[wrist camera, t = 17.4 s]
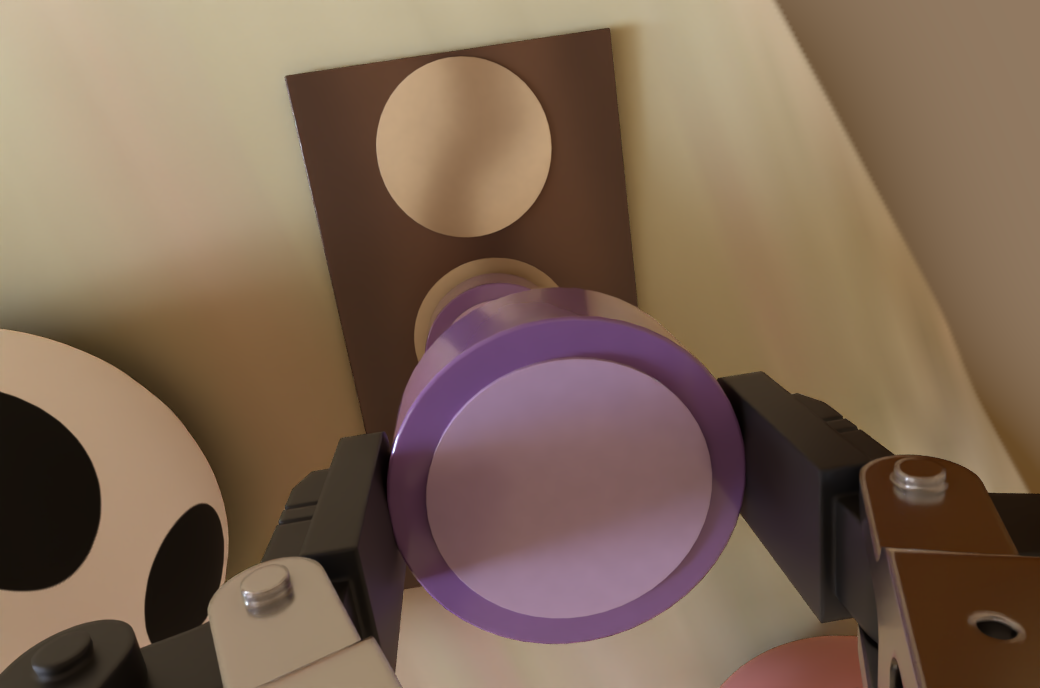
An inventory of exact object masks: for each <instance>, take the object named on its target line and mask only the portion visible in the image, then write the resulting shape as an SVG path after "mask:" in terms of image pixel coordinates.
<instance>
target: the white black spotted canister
mask: <svg viewBox="0 0 1040 688" xmlns="http://www.w3.org/2000/svg"><path fill="white" fill-rule="evenodd" d="M228 543H229V536H228V524H227V517H226V512H225V506H224V502H223V499H222V495H221V492H220V489H219V486H218V484H217V481H216V478H215V476H214V473H213V471H212V469H211V467H210V465H209V463H208V461H207V459H206V457H205V456H204V454H203V452H202V451H201V449H200V448H199V446H198V444H197V443H196V441H195V440H194V439H193V437H192V436H191V435H190V433H189V432H188V430H187V429H186V427H185V426H184V425H183V423H182V422H181V421H180V420H179V418H178V417H177V416H176V415H175V413H174V412H173V411H172V410H171V409H170V408H169V407H168V406H167V405H166V404H164V403H163V402H162V401H161V400H160V399H159V398H158V397H156V396H155V395H154V394H152V393H151V392H150V391H148V390H147V389H146V388H144V387H143V386H142V385H141V384H139V383H138V382H137V381H135V380H134V379H133V378H131V377H130V376H129V375H127V374H126V373H124V372H123V371H121V370H120V369H118V368H117V367H115V366H114V365H112V364H110V363H108V362H106V361H104V360H101V359H99V358H97V357H95V356H93V355H90V354H88V353H86V352H83V351H81V350H79V349H76V348H74V347H71V346H69V345H66V344H63V343H60V342H57V341H54V340H51V339H48V338H44V337H40V336H36V335H32V334H28V333H24V332H18V331H12V330H6V329H0V674H1V673H2V672H3V671H4V670H5V669H6V668H7V667H8V666H9V665H10V664H11V663H12V662H13V661H14V660H16V659H17V658H18V657H19V656H20V655H22V654H23V653H24V652H26V651H27V650H28V649H30V648H31V647H33V646H35V645H36V644H38V643H39V642H41V641H43V640H45V639H46V638H48V637H50V636H52V635H54V634H56V633H59V632H61V631H63V630H66V629H68V628H71V627H73V626H76V625H80V624H83V623H87V622H92V621H97V620H105V619H114V620H120V621H123V622H126V623H128V624H129V625H130V626H131V627H132V628H133V630H134V633H135V635H136V638H137V641H138V644H139V647H140V648H142V647H145V646H147V645H150V644H153V643H156V642H158V641H161V640H164V639H166V638H169V637H172V636H175V635H177V634H180V633H183V632H186V631H188V630H191V629H193V628H195V627H198V626H200V625H202V624H204V623H206V622H208V621H209V617H208V606H209V602H210V600H211V599H212V597H213V595H214V594H215V593H216V591H217V590H218V589H219V588H220V587H221V586H222V585H223V584H224V582H225V576H226V568H227V560H228Z"/></svg>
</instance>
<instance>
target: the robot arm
mask: <svg viewBox="0 0 1040 688" xmlns="http://www.w3.org/2000/svg"><path fill="white" fill-rule="evenodd" d="M717 381H718V382H719V384H720V386H721V387H722V389H723V391H724V392H725V394H726V395H727V397H728V399H729V400H730V402H731V405H732V407H733V409H734V411H735V414H736V416H737V418H738V421H739V425H740V428H741V432H742V436H743V440H744V448H745V461H746V485H745V491H744V497H743V503H742V507H741V510H740V514H741V515H742V516H743V518H744V519H745V521H746V522H747V523H748V525H749V526H750V527H751V529H752V530H753V531H754V533H755V534H756V535H757V537H758V538H759V540H760V541H761V542H762V544H763V545H764V546H765V548H766V549H767V550H768V552H769V553H770V554H771V556H772V557H773V559H774V560H775V561H776V563H777V564H778V565H779V567H780V568H781V569H782V571H783V572H784V573H785V575H786V576H787V577H788V579H789V580H790V582H791V583H792V584H793V586H794V587H795V588H796V590H797V591H798V592H799V594H800V595H801V596H802V598H803V599H804V601H805V602H806V603H807V605H808V606H809V607H810V609H811V610H812V611H813V613H814V614H815V615H816V617H817V618H818V619H819V621H820V622H821V623H826V622H832V621H837V620H843V619H848V618H854V619H855V620H856V621H857V623H858V657H859V664H860V671H861V678H862V685H863V688H1040V494H1019V493H988V492H987V490H986V488H985V486H984V484H983V482H982V481H981V479H980V478H979V477H978V476H977V475H976V474H975V473H973V472H972V471H970V470H969V469H967V468H965V467H963V466H961V465H959V464H956V463H953V462H951V461H947V460H944V459H940V458H935V457H930V456H922V455H894V454H893V453H891V452H890V451H889V450H887V449H886V448H885V447H883V446H882V445H881V444H879V443H878V442H877V441H875V440H874V439H873V438H871V437H870V436H869V435H867V434H866V433H865V432H863V431H862V430H858V429H857V426H855V425H854V424H853V423H851V422H850V421H849V420H847V419H843V416H842V415H841V414H839V413H838V412H837V411H835V410H834V409H833V408H831V407H830V406H829V405H827V404H826V403H824V402H822V401H819V400H816V399H813V398H810V397H807V396H804V395H801V394H799V393H796V394H790V393H789V392H788V391H786V390H785V389H784V388H783V387H781V386H780V385H779V384H778V383H776V382H775V381H774V380H773V379H771V378H770V377H769V376H768V375H766V374H765V373H764V372H761V371H760V372H753V373H747V374H741V375H735V376H728V377H722V378H718V379H717ZM390 453H391V448H390V444H389V440H388V437H387V434H386V433H385V431H382V432H376V433H370V434H363V435H357V436H351V437H345V438H341V439H340V440H339V443H338V446H337V449H336V452H335V454H334V457H333V460H332V463H331V466H330V469H324V470H318V471H312V472H311V473H310V474H309V475H308V476H306V477H305V478H304V479H303V480H302V481H301V482H300V483H299V484H298V485H296V486H295V487H294V488H293V489H292V491H291V494H290V496H289V498H288V501H287V503H286V505H285V510H283V512H282V515H281V517H280V519H279V521H278V522H279V525H277V526H276V528H275V531H274V533H273V535H272V538H271V540H270V542H269V545H268V547H267V549H266V551H265V554H264V556H263V558H262V561H261V563H260V564H257V565H255V566H252V567H250V568H248V569H246V570H244V571H242V572H240V573H238V574H237V575H235V576H234V577H232V578H231V579H230V580H228V581H227V582H226V583H224V584H223V585H222V586H221V587H220V588H219V589H218V590H217V591H216V593H215V594H214V595H213V597H212V599H211V600H210V602H209V606H208V617H209V621H208V622H206V623H204V624H202V625H200V626H198V627H195V628H193V629H191V630H188V631H186V632H183V633H180V634H177V635H175V636H172V637H169V638H166V639H164V640H161V641H158V642H156V643H153V644H150V645H147V646H145V647H142V648H140V647H139V644H138V641H137V638H136V635H135V633H134V630H133V628H132V627H131V626H130V625H129V624H128V623H126V622H123V621H120V620H114V619H105V620H97V621H92V622H87V623H83V624H80V625H76V626H73V627H71V628H68V629H66V630H63V631H61V632H59V633H56V634H54V635H52V636H50V637H48V638H46V639H45V640H43V641H41V642H39V643H38V644H36V645H35V646H33V647H31V648H30V649H28V650H27V651H26V652H24V653H23V654H22V655H20V656H19V657H18V658H17V659H16V660H14V661H13V662H12V663H11V664H10V665H9V666H8V667H7V668H6V669H5V670H4V671H3V672H2V673H1V674H0V688H403V687H402V686H401V684H400V682H399V680H398V678H397V677H396V675H395V669H396V659H397V650H398V640H399V630H400V620H401V610H402V600H403V591H404V581H405V571H406V563H405V561H404V559H403V557H402V555H401V553H400V551H399V548H398V546H397V544H396V541H395V537H394V533H393V528H392V524H391V519H390V514H389V509H388V504H387V498H386V478H387V471H388V465H389V459H390Z"/></svg>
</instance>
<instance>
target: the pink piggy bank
mask: <svg viewBox="0 0 1040 688" xmlns="http://www.w3.org/2000/svg"><path fill="white" fill-rule="evenodd" d="M719 688H863V685H862V678H861V671H860V664H859V657H858V637H856V636H820V637H813V638H806V639H801V640H797V641H793V642H790V643H786V644H783V645H780V646H778V647H775V648H773V649H771V650H768V651H766V652H764V653H762V654H760V655H758V656H757V657H755V658H753V659H752V660H750V661H749V662H747V663H746V664H744V665H743V666H742V667H740V668H739V669H738V670H737V671H735V672H734V673H733V674H732V675H731V676H730V677H729V678H728V679H727V680H726V681H725V682H724V683H723V684H722V685H721V686H720V687H719Z"/></svg>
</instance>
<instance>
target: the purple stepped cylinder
mask: <svg viewBox="0 0 1040 688" xmlns="http://www.w3.org/2000/svg"><path fill="white" fill-rule="evenodd" d="M745 485H746V461H745V448H744V440H743V436H742V432H741V428H740V425H739V421H738V418H737V416H736V414H735V411H734V409H733V407H732V405H731V402H730V400H729V399H728V397H727V395H726V394H725V392H724V391H723V389H722V387H721V386H720V384H719V382H718V381H717V380H716V379H715V378H714V377H713V375H712V374H711V373H710V372H709V371H708V369H707V368H706V367H705V366H704V365H703V364H702V363H701V362H700V361H699V360H698V359H697V358H696V357H695V356H694V355H693V354H692V353H691V352H690V351H688V350H687V349H686V348H685V347H684V346H683V345H682V344H681V343H680V342H679V341H678V340H677V339H676V338H675V337H674V336H673V335H672V334H671V333H670V332H669V331H668V330H666V329H665V328H664V327H663V326H662V325H661V324H660V323H658V322H657V321H656V320H655V319H654V318H653V317H651V316H650V315H648V314H646V313H645V312H643V311H642V310H640V309H639V308H637V307H636V306H633V305H631V304H629V303H627V302H625V301H623V300H621V299H619V298H616V297H613V296H610V295H606V294H603V293H600V292H596V291H590V290H585V289H579V288H562V287H552V288H541V289H532V290H527V291H523V292H518V293H514V294H510V295H507V296H505V297H502V298H499V299H496V300H493V301H491V302H489V303H487V304H485V305H483V306H481V307H479V308H477V309H475V310H473V311H471V312H470V313H469V314H467V315H466V316H464V317H463V318H461V319H460V320H458V321H457V322H455V323H454V324H453V325H452V326H451V327H450V328H448V329H447V330H446V331H445V332H444V333H443V334H442V335H441V336H439V337H438V338H437V340H436V341H435V342H434V343H433V344H432V345H431V347H430V348H429V349H428V350H427V351H426V352H425V354H424V355H423V357H422V358H421V360H420V361H419V363H418V364H417V366H416V367H415V369H414V371H413V373H412V375H411V377H410V379H409V381H408V383H407V385H406V388H405V390H404V393H403V396H402V400H401V403H400V406H399V410H398V415H397V421H396V426H395V431H394V437H393V442H392V448H391V453H390V459H389V465H388V471H387V478H386V498H387V504H388V509H389V514H390V519H391V524H392V528H393V533H394V537H395V541H396V544H397V546H398V548H399V551H400V553H401V555H402V557H403V559H404V561H405V563H406V564H407V566H408V567H409V569H410V570H411V572H412V573H413V575H414V577H415V578H416V579H417V581H418V582H419V583H420V584H421V585H422V586H423V587H424V589H425V590H426V591H427V592H428V593H429V594H430V595H431V596H432V597H433V598H434V599H435V600H436V601H438V602H439V603H440V604H441V605H442V606H443V607H444V608H446V609H447V610H449V611H450V612H452V613H453V614H455V615H456V616H458V617H459V618H461V619H462V620H464V621H466V622H468V623H470V624H472V625H474V626H476V627H478V628H480V629H482V630H484V631H487V632H490V633H493V634H496V635H499V636H502V637H505V638H510V639H515V640H519V641H524V642H533V643H543V644H568V643H576V642H584V641H591V640H595V639H600V638H604V637H608V636H612V635H615V634H618V633H620V632H623V631H626V630H629V629H632V628H634V627H636V626H638V625H640V624H642V623H644V622H646V621H649V620H651V619H652V618H654V617H656V616H657V615H659V614H660V613H662V612H664V611H665V610H667V609H669V608H670V607H671V606H673V605H674V604H675V603H676V602H678V601H679V600H680V599H682V598H683V597H684V596H685V595H687V594H688V593H689V592H690V591H691V590H692V589H693V588H694V587H695V586H696V585H697V584H698V583H699V582H700V581H701V580H702V579H703V578H704V576H705V575H706V574H707V573H708V571H709V570H710V569H711V568H712V566H713V565H714V564H715V563H716V561H717V560H718V558H719V556H720V555H721V553H722V552H723V550H724V548H725V547H726V545H727V543H728V541H729V539H730V537H731V535H732V532H733V530H734V528H735V526H736V523H737V520H738V517H739V513H740V510H741V507H742V503H743V497H744V491H745Z"/></svg>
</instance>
